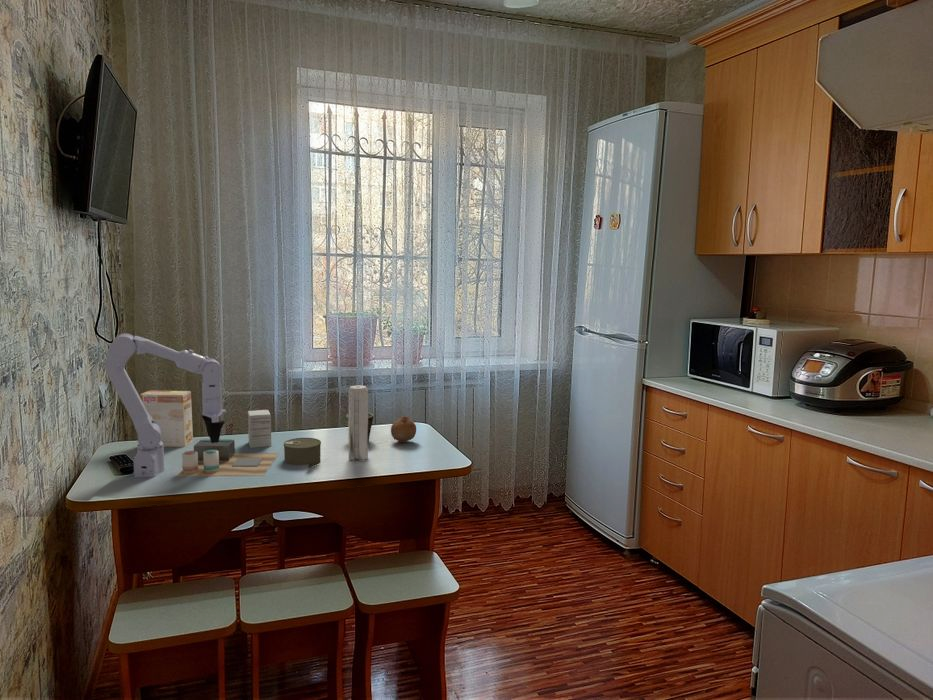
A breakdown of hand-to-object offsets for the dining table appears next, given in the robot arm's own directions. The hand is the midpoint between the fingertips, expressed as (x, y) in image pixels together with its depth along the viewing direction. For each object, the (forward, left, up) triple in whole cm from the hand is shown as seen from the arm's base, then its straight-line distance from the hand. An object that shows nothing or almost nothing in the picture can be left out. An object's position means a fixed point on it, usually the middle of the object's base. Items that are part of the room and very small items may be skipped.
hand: (213, 439), depth 205 cm
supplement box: (+23, -9, -10) cm, 26 cm away
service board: (+1, -5, -9) cm, 11 cm away
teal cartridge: (-6, -1, -8) cm, 10 cm away
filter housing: (+8, +2, -8) cm, 11 cm away
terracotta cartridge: (-7, +5, -8) cm, 12 cm away
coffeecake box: (+24, +23, -10) cm, 35 cm away
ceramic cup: (+28, -44, -10) cm, 53 cm away
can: (+5, -27, -10) cm, 29 cm away
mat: (+2, -10, -8) cm, 13 cm away
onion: (+28, -60, -10) cm, 67 cm away
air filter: (+9, -45, -10) cm, 47 cm away
